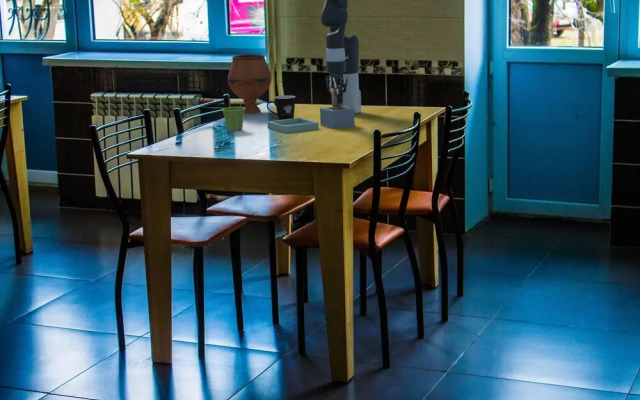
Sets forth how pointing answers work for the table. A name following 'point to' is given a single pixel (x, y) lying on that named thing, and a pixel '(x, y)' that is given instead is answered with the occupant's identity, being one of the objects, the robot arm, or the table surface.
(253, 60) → the goblet
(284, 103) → the coffee mug
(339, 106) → the dowel
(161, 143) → the table surface
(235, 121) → the plant pot
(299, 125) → the tray
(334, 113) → the blue storage bin
